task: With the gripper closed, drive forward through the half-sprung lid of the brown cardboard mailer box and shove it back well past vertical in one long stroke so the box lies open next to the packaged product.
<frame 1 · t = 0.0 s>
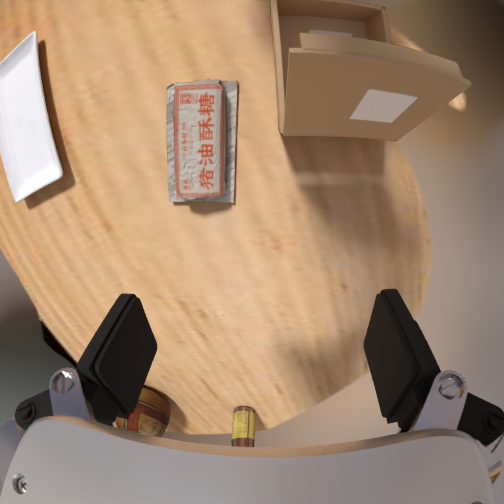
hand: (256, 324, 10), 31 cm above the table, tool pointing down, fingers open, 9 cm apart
sauce bottle: (245, 409, 70), on the table
lid: (361, 100, 20), point 15 cm above the table, hinge at 65.0°
ceramic pitcher: (143, 393, 71), on the table
tray: (28, 114, 33), on the table
packaged product: (202, 141, 37), on the table
mailer box: (325, 69, 30), on the table
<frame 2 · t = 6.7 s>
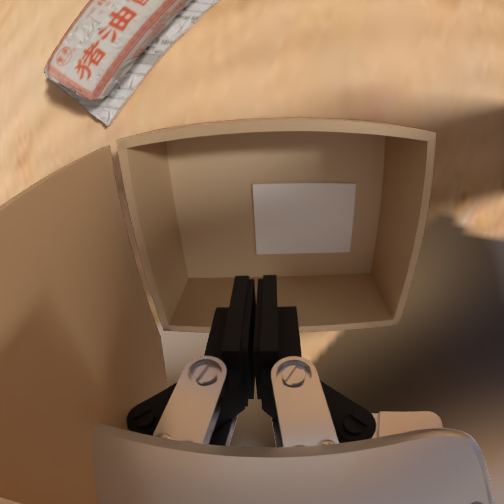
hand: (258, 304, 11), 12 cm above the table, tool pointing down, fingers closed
lid: (141, 347, 9), point 15 cm above the table, hinge at 67.3°, touching gripper
packaged product: (141, 18, 15), on the table
mailer box: (279, 205, 22), on the table
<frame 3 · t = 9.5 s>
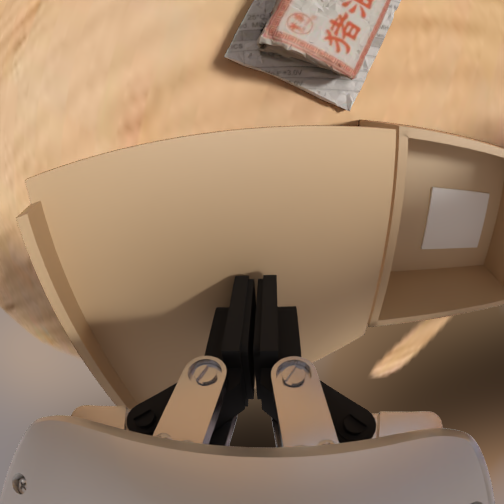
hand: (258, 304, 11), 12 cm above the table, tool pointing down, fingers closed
lid: (269, 300, 11), point 12 cm above the table, hinge at 152.1°, touching gripper
packaged product: (329, 0, 14), on the table
mailer box: (441, 206, 21), on the table
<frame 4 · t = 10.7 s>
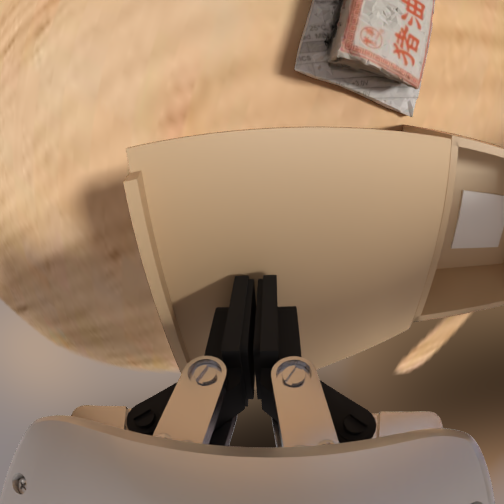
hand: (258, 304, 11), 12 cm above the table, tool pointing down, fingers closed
lid: (340, 284, 12), point 11 cm above the table, hinge at 159.9°, touching gripper
packaged product: (373, 7, 13), on the table
mailer box: (469, 208, 20), on the table
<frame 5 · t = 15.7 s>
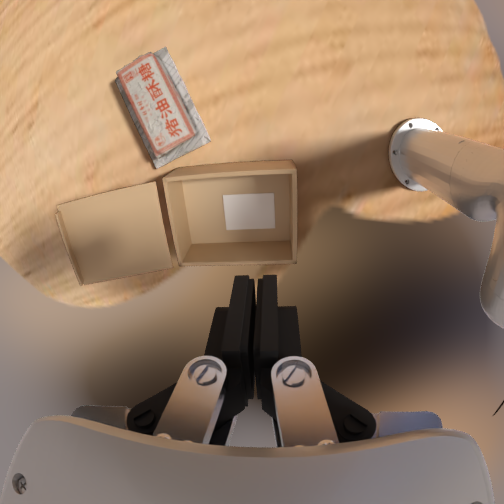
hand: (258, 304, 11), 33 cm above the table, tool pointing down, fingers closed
lid: (113, 239, 36), point 11 cm above the table, hinge at 160.8°
packaged product: (162, 106, 37), on the table
mailer box: (236, 204, 44), on the table
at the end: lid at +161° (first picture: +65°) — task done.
